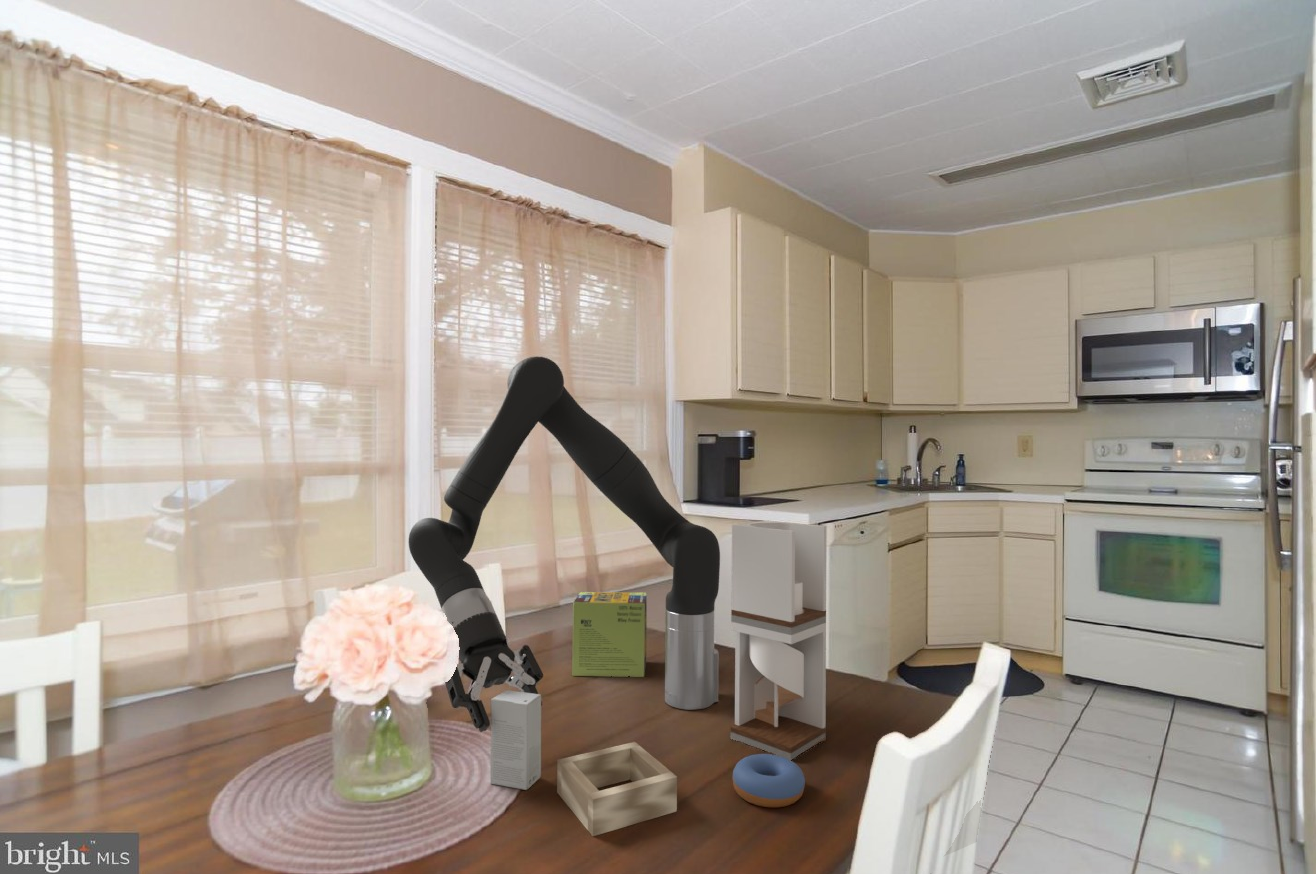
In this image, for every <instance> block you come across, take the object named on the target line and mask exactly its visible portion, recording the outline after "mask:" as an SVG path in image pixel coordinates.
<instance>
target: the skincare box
mask: <svg viewBox="0 0 1316 874" xmlns="http://www.w3.org/2000/svg"><path fill="white" fill-rule="evenodd" d="M541 701H542V694H540V693H538V694H533V693H526V692H522V691H517V690H510V689H505V690H504V691H502V692H500V693H499V694H497V695H496V696H494V697H492V698H491V699H490V784H492V785H497V786H502V787H506V788H507V787H508V788H514V789H518V790H523V791H527V790H529V788H530V787H531V788H532V785H534V784H535V783H536V782H537V781H538V780H539V779H540V778H541V776H542V706H541Z"/></svg>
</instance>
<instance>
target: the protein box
mask: <svg viewBox="0 0 1316 874" xmlns="http://www.w3.org/2000/svg"><path fill="white" fill-rule="evenodd" d="M647 595H648V593H647V592H620V591H619V592H617V591H605V592H603V591H600V592H598V591H594V592H593V591H585V592H584V591H580V592H579V593H578V595H577V597H576V598H575V599H574V601H573V603H572V643H571V644H572V650H571V651H572V652H571V658H572V659H571V676H573V677H575V676H576V677H611V676H612V677H613V678H614V677H615V678H616V677H618V678H620V677H621V678H625V677H627V678H644V677H645V672H646V665H647V637H648V636H647V628H648V627H647V626H648V625H647V624H648V623H647V621H648V620H647V612H648V611H647V608H648V607H647V603H648V602H647ZM628 676H630V677H628ZM612 677H611V678H612Z"/></svg>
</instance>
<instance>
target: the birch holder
mask: <svg viewBox="0 0 1316 874" xmlns="http://www.w3.org/2000/svg"><path fill="white" fill-rule="evenodd" d="M556 772H557V775H556V776H557V778H556V779H557V782H556V783H557V785H556V786H557V788H556V790H557V792H556V793H557V795H558V796H560V798H561V799H562V800H563V802H564V803H565V804H566V806H568V808H569V809H570V810H571V811H572V813H573V814H574V815H575V817H576V818H577V819H578V820H579V821H580V822H581V824H582V825H583V826H584V828H585V829H586V830H587V832H589V834H590V835H591V837H595V836H596V837H597V836H599V835H602V834H606V833H608V832H612V831H617V830H619V829H622V828H626V827H630V826H632V825H635V824H639V823H643V822H646V821H649V820H652V819H657V818H659V817H662V816H665V815H669V814H672V813H676V812H677V809H678V776H677V775H675V773H673V772H672V771H671V770H669V769H668V768H667V767H666V766H665V765H664V764H663V763H661V762H660V761H659V760H658V759H656V758H655V757H654V756H653V755H651V754H650V753H649V752H648V751H646V750H645V748H643V747H642V746H640V745H639V744H638V743H637V742H636V741H632V742H629V743H623V744H620V745H616V746H611V747H606V748H602V749H599V750H594V751H590V752H585V753H582V754H576V755H572V756H568V757H563V758H559V759H557V771H556ZM626 781H631V782H628V783H625V784H621V785H617V786H614V787H609V788H606V789H602V790H599V788H604V787H607V786H610V785H614V784H618V783H622V782H626Z"/></svg>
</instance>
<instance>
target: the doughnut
mask: <svg viewBox="0 0 1316 874" xmlns="http://www.w3.org/2000/svg"><path fill="white" fill-rule="evenodd" d="M805 783H806V779H805V775H804V773H803V771H802V769H801V768H800V767H799V765H798V764H796V763H795V762H794V760H792V761H791V760H789V759H787V758H784V757H781V756H778V755H772V754H770V753H758V754H751V755H748V756H745V757H744V758H742V759H740V760H739V761H738V762H737V763H736V765H735V766H734V768H733V771H732V784H733V789H734V790H735V792H736V793H737V794H738V796H740V797H741V798H742V799H743V800H744V801H746V802H747V803H750V804H753V805H755V806H758V807H764V808H782V807H783V808H784V807H788V806H790V805H792V804H795V803H796V802H797V801H799V800H800V799H801V798H802V796H803V793H804V790H805V786H806V784H805Z"/></svg>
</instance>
